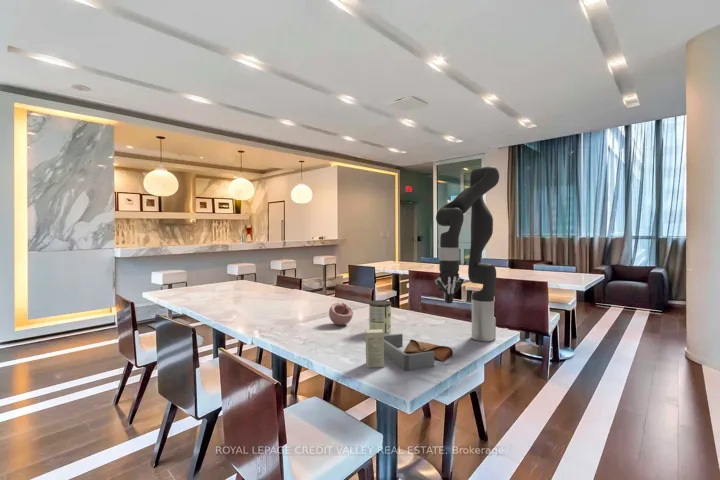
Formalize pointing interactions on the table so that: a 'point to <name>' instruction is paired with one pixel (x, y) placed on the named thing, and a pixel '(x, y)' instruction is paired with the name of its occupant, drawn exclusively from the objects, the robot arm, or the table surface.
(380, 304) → the coffee can
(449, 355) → the sunglasses case
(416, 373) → the table surface
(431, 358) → the gray u-shaped bracket
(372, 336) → the skincare box
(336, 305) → the mortar and pestle
